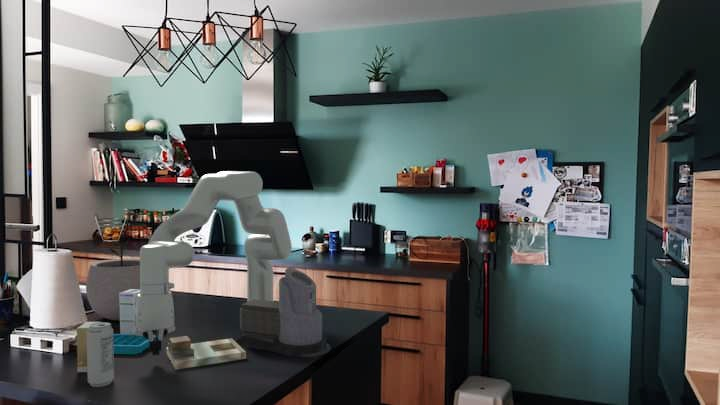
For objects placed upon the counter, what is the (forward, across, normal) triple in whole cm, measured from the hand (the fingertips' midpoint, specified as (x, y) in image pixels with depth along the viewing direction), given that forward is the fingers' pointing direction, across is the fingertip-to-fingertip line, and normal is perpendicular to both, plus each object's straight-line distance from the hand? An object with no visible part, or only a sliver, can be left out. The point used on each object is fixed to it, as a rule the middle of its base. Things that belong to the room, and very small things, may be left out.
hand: (155, 353), depth 153 cm
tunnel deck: (+3, -14, 0) cm, 14 cm away
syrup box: (+3, +2, -34) cm, 34 cm away
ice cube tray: (+3, +8, -20) cm, 22 cm away
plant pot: (+3, +4, -57) cm, 57 cm away
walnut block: (+1, -7, 0) cm, 7 cm away
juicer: (+3, -38, +1) cm, 38 cm away
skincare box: (+3, +16, -4) cm, 17 cm away
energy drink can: (+3, +14, +9) cm, 17 cm away
